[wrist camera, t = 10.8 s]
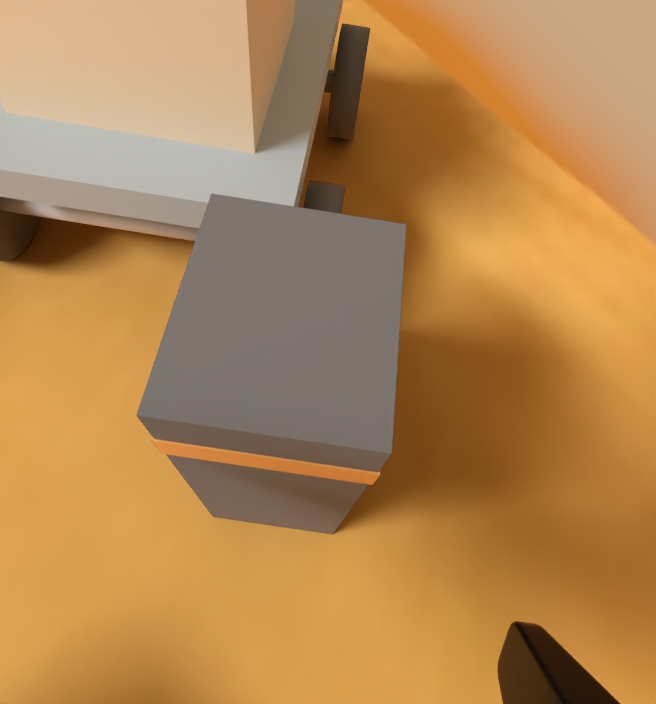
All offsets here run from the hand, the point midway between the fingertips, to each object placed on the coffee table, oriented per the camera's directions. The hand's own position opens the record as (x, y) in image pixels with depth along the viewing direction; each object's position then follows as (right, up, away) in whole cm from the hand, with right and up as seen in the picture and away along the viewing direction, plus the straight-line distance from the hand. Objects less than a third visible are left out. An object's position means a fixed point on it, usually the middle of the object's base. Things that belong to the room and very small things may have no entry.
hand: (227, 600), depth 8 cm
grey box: (0, +1, +14) cm, 14 cm away
